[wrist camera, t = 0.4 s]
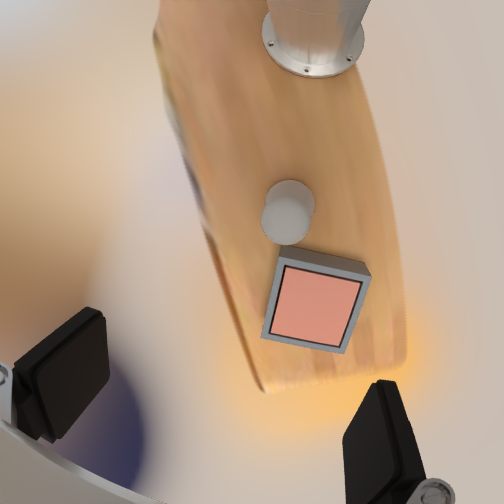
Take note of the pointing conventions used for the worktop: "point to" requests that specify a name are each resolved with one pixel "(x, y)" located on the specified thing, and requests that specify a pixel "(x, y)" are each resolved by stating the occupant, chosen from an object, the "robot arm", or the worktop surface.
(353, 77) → the worktop surface
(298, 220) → the grey bowling pin
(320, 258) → the press housing
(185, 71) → the worktop surface
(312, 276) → the pan
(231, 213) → the worktop surface
